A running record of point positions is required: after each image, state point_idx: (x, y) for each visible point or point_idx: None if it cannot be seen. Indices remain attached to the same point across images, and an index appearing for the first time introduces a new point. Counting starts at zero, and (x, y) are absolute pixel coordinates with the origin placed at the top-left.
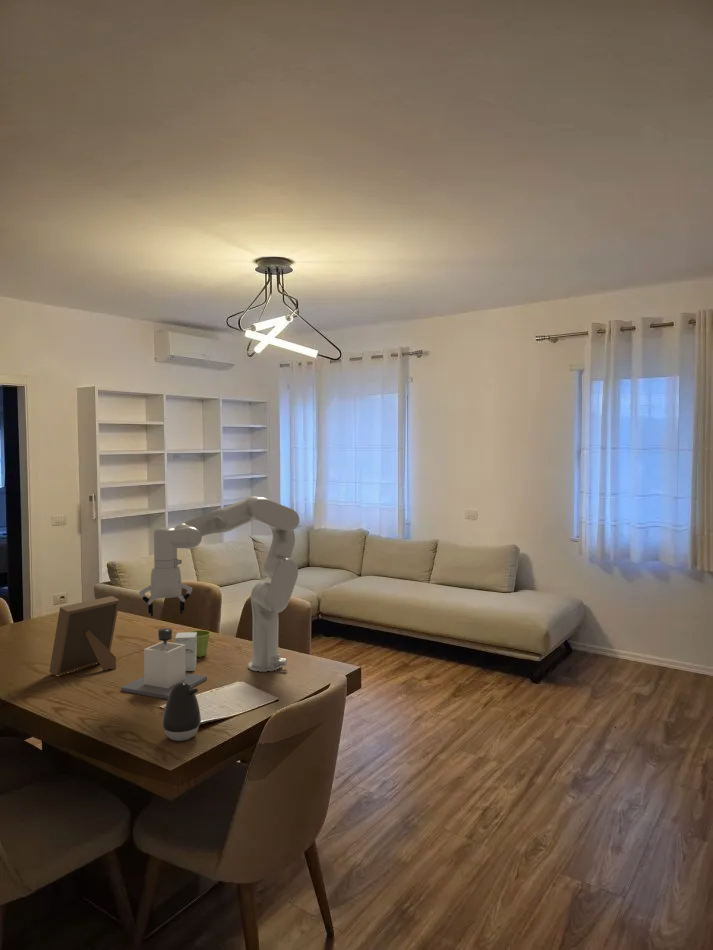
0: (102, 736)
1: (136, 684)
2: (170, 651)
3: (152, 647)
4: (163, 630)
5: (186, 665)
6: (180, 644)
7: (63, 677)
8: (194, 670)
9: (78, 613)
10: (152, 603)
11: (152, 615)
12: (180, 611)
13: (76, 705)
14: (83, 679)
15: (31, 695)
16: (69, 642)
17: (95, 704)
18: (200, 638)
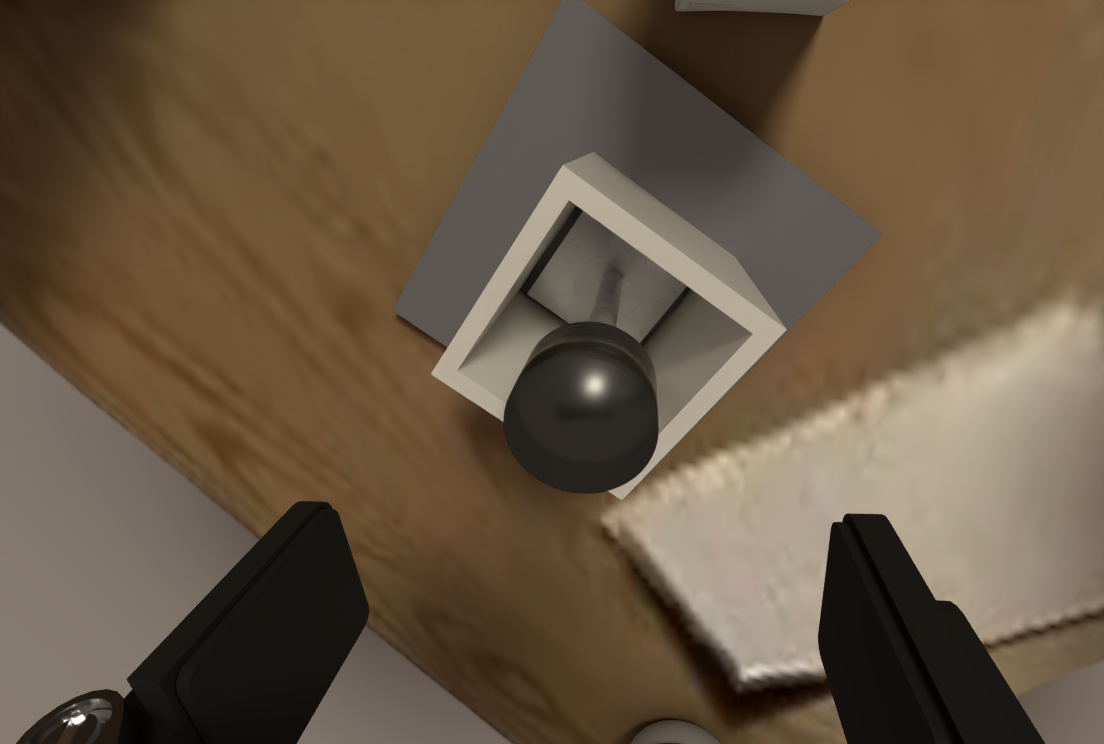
0: (443, 669)
1: (461, 287)
2: (642, 477)
3: (488, 323)
4: (560, 443)
5: (771, 6)
6: (738, 314)
7: (17, 2)
8: (824, 15)
9: None
10: (201, 724)
11: (360, 617)
12: (831, 685)
13: (270, 427)
14: (144, 67)
15: (34, 270)
16: None
17: (339, 435)
18: None
